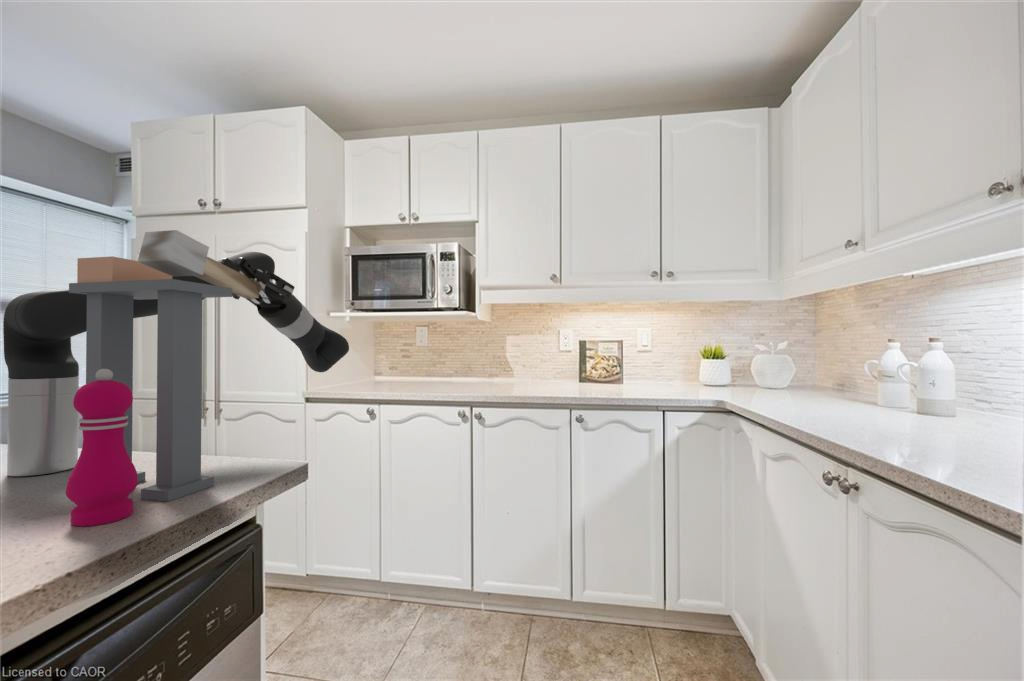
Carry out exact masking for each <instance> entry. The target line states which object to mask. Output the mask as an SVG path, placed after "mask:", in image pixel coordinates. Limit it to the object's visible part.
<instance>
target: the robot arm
mask: <svg viewBox="0 0 1024 681" xmlns="http://www.w3.org/2000/svg"><path fill="white" fill-rule="evenodd" d="M214 260H215V261H217V262H219V263H221V264H223V265H225V266H227V267H229V268H231V269H233V270H235V271H237V272H239V273H241V274H243V275H245V276H247V277H248V278H251V281H252V282H253V283H254V284H255V285H256V289H257V290H258V291H259V298H244V299H245V300H246V301H249V302H250V303H251V304H252V305H254V306H255V307H256V309H257V312H258V314H259V315H260V317H261V318H263V319H264V321H266V322H267V323H268V324H270V325H271V326H272V327H273V328H274V329H275V330H276V331H278V333H281V335H284V336H285V337H287V338H288V339H289V340H290V341H291V342H292V343H293V344H295V346H297V348H298V349H299V350H300V352H301V355H302V357H303V359H304V361H305V362H306V364H307V366H308V368H310V369H311V370H313V371H314V372H316V373H325V372H327V371H329V370H330V369H331V368H333V366H334V365H336V364H337V363H338V362H340V360H341V359H342V358H344V357H345V356H346V355H347V354H348V353H349V351H350V345H349V341H348V339H346V338H345V336H343V335H342V334H340V333H338V332H336V331H335V330H332V329H330V328H328V327H326V326H324V325H323V324H322V323H320V322H319V321H318V320H317V319H316V318H315V317H314V316H313V315H312V314H311V312H310V311H309V310H308V308H307V307H306V306H305V305H304V304H303V303H302V302H301V301H300V300H299V299H298V298H297V296H295V295H294V294H293V293H294V290H295V285H293V284H291V283H290V282H289V281H286V280H284V279H283V278H281V277H280V276H279V275H277V274H275V270H276V269H275V268H276V265H275V261H274V258H272V257H271V256H270V255H268V254H267V253H263V252H259V251H246V252H245V251H244V252H240V253H236V254H232V255H228V256H226V257H222V258H218V259H214ZM172 279H175V280H182V281H188V282H195V283H201V284H208V285H213V284H211V283H209V282H207V281H204V280H202V279H200V278H197V277H195V276H172ZM273 281H275V282H273ZM214 286H216V285H214ZM232 298H233V299H235V300H239V299H240V298H241V296H239V295H236V294H234V293H232ZM205 299H206V298H202V301H203V300H205ZM156 315H157V316H158V299H144V300H137V299H133V319H137V318H146V317H151V316H156ZM2 322H3V326H2V327H3V329H2V330H3V356H4V362H5V365H6V367H7V370H8V373H7V374H8V377H7V378H8V381H7V385H8V386H7V389H8V390H7V398H8V399H7V453H6V454H7V455H6V459H7V461H6V462H7V463H6V474H7V476H8V477H30V476H39V475H46V474H53V473H59V472H63V471H67V470H71V469H74V467H75V465H76V463H77V461H78V459H79V452H78V451H79V428H78V427H79V421H78V420H79V412H78V411H76V409H75V408H74V404H73V400H74V396H75V394H76V392H77V391H78V389H79V388H80V387H79V382H80V381H79V379H80V378H79V377H80V372H79V371H80V368H79V366H80V365H79V362H78V361H77V360H76V358H75V356H74V355H73V352H72V337H75V336H78V335H80V334H82V333H83V334H84V333H85V332H86V328H87V294H77V293H69V289H61V290H59V289H58V290H57V289H56V290H42V291H41V290H40V291H34V292H28V293H23V294H21V295H18V296H16V297H15V298H13V299H12V300H11V301H9V303H8V304H7V305H6V308H5V310H4V314H3V321H2Z"/></svg>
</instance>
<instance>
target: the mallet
mask: <svg viewBox="0 0 1024 681" xmlns="http://www.w3.org/2000/svg"><path fill="white" fill-rule="evenodd" d="M142 239H143V240H142V242H141V246H140V251H139V254H138V258H137V261H138V262H139V263H142V264H144V265H146V266H149V267H151V268H154V269H156V270H158V271H161V272H163V273H166V274H168V275H170V276H195V277H197V278H200V279H202V280H204V281H207V282H209V283H211V284H213V285H216V286H221V287H227V288H232V293H234V294H236V295H239V296H240V298H243V299H245V298H259V291H258V290H257V289H256V285H255V284H254V283H253V282H252V281H251V278H248V277H247V276H245V275H243V274H241V273H239V272H237V271H235V270H233V269H231V268H229V267H227V266H225V265H223V264H221V263H219V262H217V261H215V260H216V259H213V258H211V257H209V256H208V254H209V249H210V247H209V246H208V245H206V244H204V243H202V242H201V241H198V240H196V239H194V238H192V237H191V236H189V235H187V234H185V233H183V232H181V231H179V230H177V229H174V230H173V229H171V230H159V231H158V230H157V231H146V232H145V233H144V235H143V238H142Z"/></svg>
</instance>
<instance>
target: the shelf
mask: <svg viewBox="0 0 1024 681" xmlns="http://www.w3.org/2000/svg"><path fill="white" fill-rule="evenodd" d="M68 290H69V293H77V294H87V328H86V334H85V336H86V338H85V340H86V341H85V343H86V345H85V347H86V350H85V352H86V355H85V384H88V383H90V382H94V381H99V380H97V379H96V372H97V371H99V370H100V369H109V370H110V371H112V373H113V377H112V379H111V380H113V381H118V382H121V383H124V384H125V385H127V386H128V387H129V388H130V389H131V392H132V395H133V388H134V386H133V381H134V380H133V379H134V376H133V375H134V371H133V370H134V318H133V299H137V300H144V299H158V315H157V333H156V334H157V336H156V337H157V339H156V342H157V343H156V344H157V345H156V355H157V356H156V357H157V358H156V360H157V361H156V441H155V442H156V443H155V444H156V446H155V447H156V448H155V449H156V456H155V459H156V460H155V461H156V464H155V467H156V468H155V469H156V470H155V471H156V472H155V474H156V475H155V478H156V480H155V484H154V485H151V486H147V487H144V488H141V489H140V500H144V501H145V500H147V501H160V502H171V501H173V500H176V499H179V498H181V497H186V496H188V495H190V494H191V495H192V494H193V493H197V492H199V491H202V490H206V489H208V488H210V487H214V486H215V483H214V482H215V477H214V476H213V475H211V476H210V475H202V395H203V394H202V390H203V389H202V383H203V382H202V381H203V380H202V376H203V373H202V372H203V370H202V369H203V360H202V359H203V300H202V298H205V299H209V298H210V299H211V298H233V296H232V288H227V287H221V286H214V285H208V284H201V283H195V282H188V281H182V280H175V279H163V280H138V281H113V282H88V283H77V282H71V283H68ZM133 396H134V395H133ZM124 415H127V416H128V418H127V422H128V425H126V426H124V435H123V436H124V445H125V448H126V451H127V454H128V456H129V458H130V459H131V461H132V462H133V404H132V405H131V406H130V407H129V408H128V409H127V411H126V412H125V414H124ZM136 472H137V477H138V483H141V482H145V481H146V471H143V470H142V471H139V470H136Z"/></svg>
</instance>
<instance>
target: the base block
mask: <svg viewBox="0 0 1024 681" xmlns="http://www.w3.org/2000/svg"><path fill="white" fill-rule="evenodd" d="M76 265H77V269H76V270H77V275H76V276H77V277H76V278H77V279H76V281H77V282H76V283H88V282H113V281H138V280H163V279H172V276H170V275H168V274H166V273H163V272H161V271H158V270H156V269H154V268H151V267H149V266H146V265H144V264H142V263H139V262H138V260H135V259H128V258H124V257H118V256H114V255H113V256H99V257H98V256H94V257H81V258H77V264H76Z"/></svg>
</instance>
